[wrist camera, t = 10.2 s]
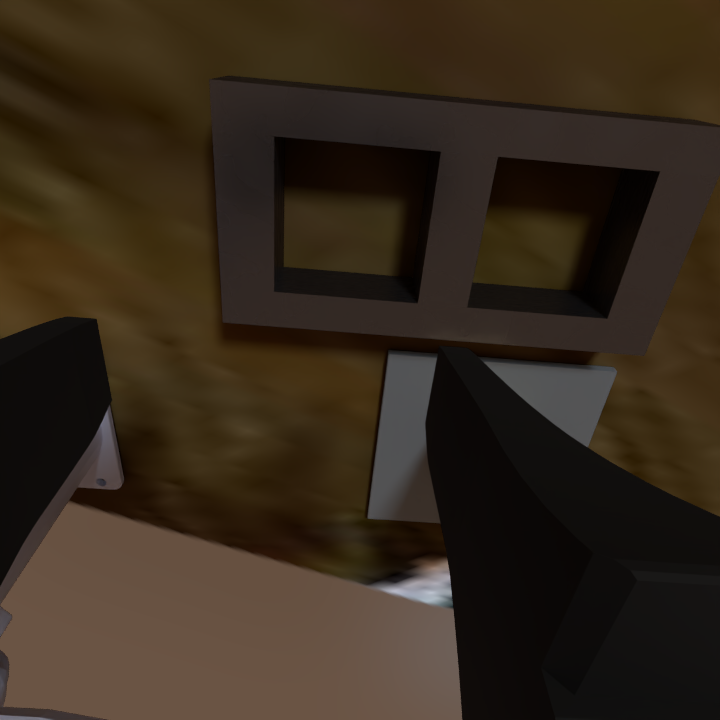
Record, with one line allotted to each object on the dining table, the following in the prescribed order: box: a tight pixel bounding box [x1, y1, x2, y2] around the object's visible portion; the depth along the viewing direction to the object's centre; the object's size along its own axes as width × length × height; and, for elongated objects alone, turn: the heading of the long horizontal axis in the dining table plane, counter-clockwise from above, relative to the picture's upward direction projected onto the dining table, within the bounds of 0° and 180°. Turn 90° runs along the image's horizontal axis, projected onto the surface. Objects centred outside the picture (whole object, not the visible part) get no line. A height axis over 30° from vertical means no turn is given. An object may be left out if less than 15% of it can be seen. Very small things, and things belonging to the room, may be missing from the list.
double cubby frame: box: [209, 76, 720, 356], centre depth 19 cm, size 16×8×2 cm, turn 85°
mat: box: [368, 350, 617, 523], centre depth 25 cm, size 10×10×1 cm
